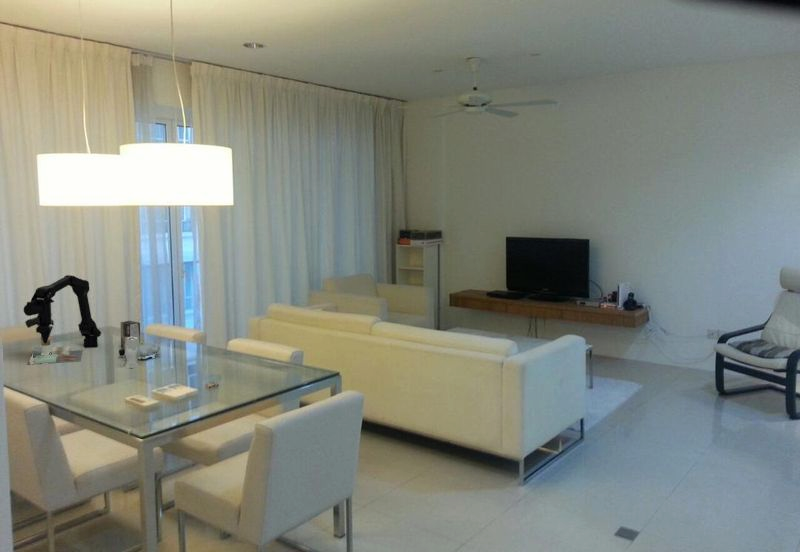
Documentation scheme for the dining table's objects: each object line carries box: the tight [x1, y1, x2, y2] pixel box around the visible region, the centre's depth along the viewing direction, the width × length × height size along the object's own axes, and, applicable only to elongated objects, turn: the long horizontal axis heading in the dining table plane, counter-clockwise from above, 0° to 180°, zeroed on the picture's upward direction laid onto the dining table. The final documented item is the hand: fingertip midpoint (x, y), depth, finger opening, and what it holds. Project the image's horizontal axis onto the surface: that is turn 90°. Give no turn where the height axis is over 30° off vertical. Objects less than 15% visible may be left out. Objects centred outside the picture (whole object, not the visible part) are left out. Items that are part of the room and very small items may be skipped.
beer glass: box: [125, 337, 140, 365], centre depth 310 cm, size 7×7×15 cm
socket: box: [60, 355, 76, 362], centre depth 318 cm, size 7×7×1 cm
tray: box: [34, 354, 58, 365], centre depth 313 cm, size 10×10×2 cm
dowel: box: [40, 334, 51, 347], centre depth 312 cm, size 4×4×6 cm
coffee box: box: [120, 320, 141, 350], centre depth 340 cm, size 9×6×16 cm
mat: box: [26, 349, 84, 366], centre depth 321 cm, size 24×24×1 cm
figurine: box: [118, 342, 161, 359], centre depth 328 cm, size 17×8×20 cm
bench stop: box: [32, 346, 42, 358], centre depth 322 cm, size 3×9×4 cm, turn 25°
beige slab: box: [51, 345, 71, 356], centre depth 327 cm, size 8×8×3 cm
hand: (45, 342), depth 312 cm, fingers closed on dowel, 4 cm apart
